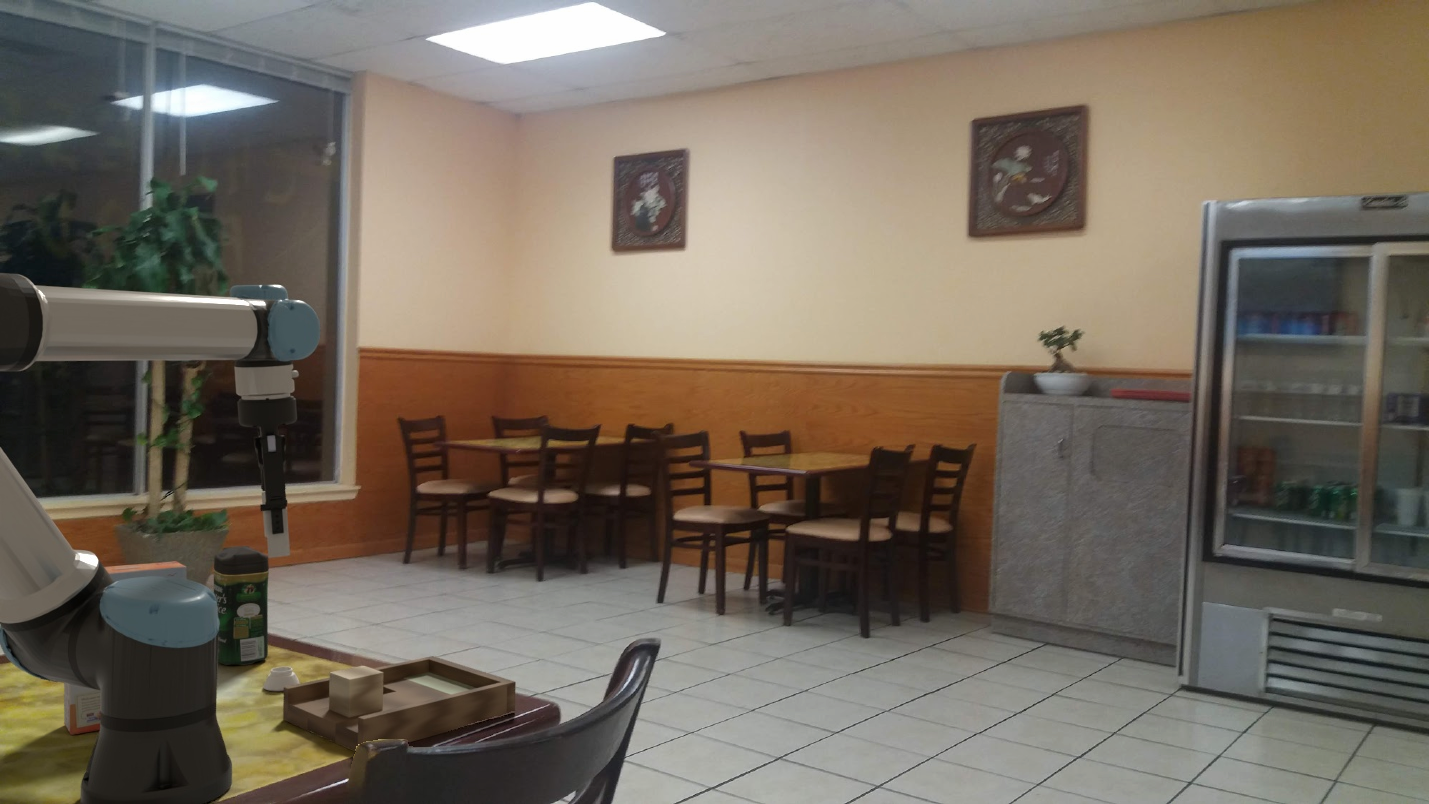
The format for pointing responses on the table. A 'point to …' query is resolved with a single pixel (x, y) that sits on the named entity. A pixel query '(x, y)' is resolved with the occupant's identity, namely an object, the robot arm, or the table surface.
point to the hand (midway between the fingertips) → (276, 545)
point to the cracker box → (86, 701)
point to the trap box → (405, 703)
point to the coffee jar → (241, 605)
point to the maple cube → (356, 691)
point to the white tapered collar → (280, 679)
